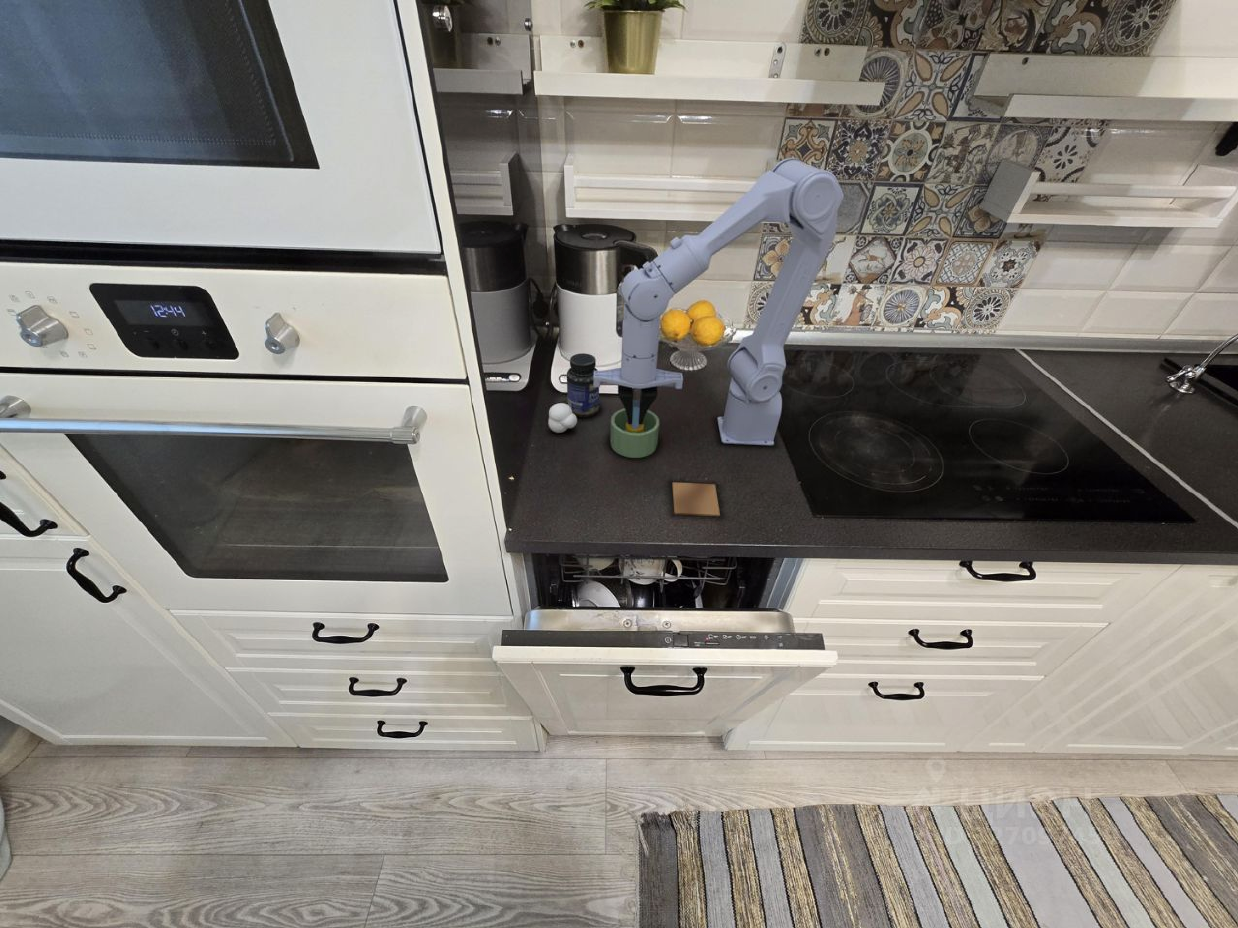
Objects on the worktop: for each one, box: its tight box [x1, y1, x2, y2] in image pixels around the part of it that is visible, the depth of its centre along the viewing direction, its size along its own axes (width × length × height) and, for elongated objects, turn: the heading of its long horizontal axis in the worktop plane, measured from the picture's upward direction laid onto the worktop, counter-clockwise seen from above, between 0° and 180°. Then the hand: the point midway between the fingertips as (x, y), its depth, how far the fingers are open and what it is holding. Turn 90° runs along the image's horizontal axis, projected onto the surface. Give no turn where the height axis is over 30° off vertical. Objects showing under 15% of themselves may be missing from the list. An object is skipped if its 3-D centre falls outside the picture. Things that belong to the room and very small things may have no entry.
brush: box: [625, 399, 644, 433], centre depth 89 cm, size 3×3×7 cm
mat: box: [671, 482, 721, 517], centre depth 82 cm, size 7×7×1 cm
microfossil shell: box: [547, 402, 578, 434], centre depth 93 cm, size 4×5×6 cm
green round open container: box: [609, 407, 660, 459], centre depth 91 cm, size 8×8×5 cm
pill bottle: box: [566, 353, 600, 419], centre depth 97 cm, size 6×6×11 cm
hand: (635, 421), depth 89 cm, fingers closed on brush
